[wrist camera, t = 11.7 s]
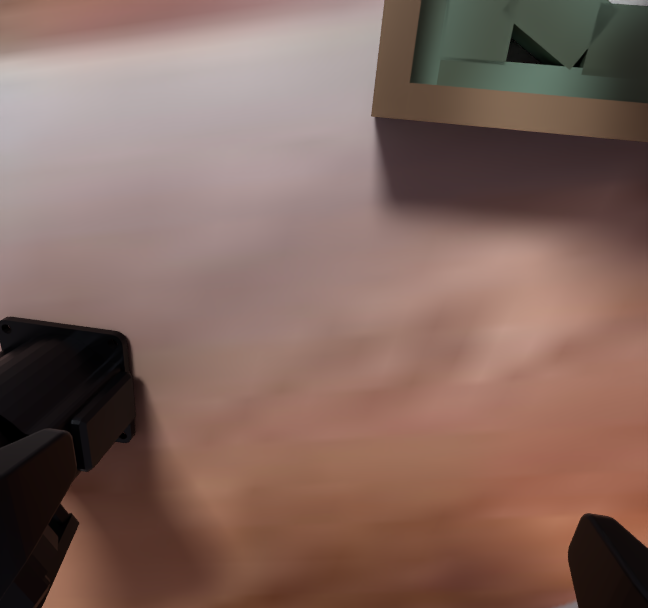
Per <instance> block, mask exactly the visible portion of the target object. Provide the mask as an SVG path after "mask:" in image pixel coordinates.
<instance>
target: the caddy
mask: <svg viewBox="0 0 648 608" xmlns="http://www.w3.org/2000/svg"><path fill="white" fill-rule="evenodd" d="M511 38H512V39H514V40H515V41H516V42H517V43H518V44H520V45H521V46H522V47H523V48H524V49H525V50H527V51H528V52H529V53H530V54H531V55H533V56H534V57H535V58H536V59H537V60H539V61H540V62H541V63H542V64H543V65H540V64H528V63H516V62H506V58H507V54H508V49H509V44H510V39H511ZM371 116H372V117H383V118H394V119H404V120H415V121H426V122H437V123H447V124H458V125H469V126H479V127H490V128H501V129H512V130H522V131H533V132H544V133H554V134H565V135H576V136H587V137H597V138H608V139H619V140H630V141H640V142H648V6H638V5H624V4H612V3H610V2H609V1H608V0H385V1H384V10H383V19H382V27H381V36H380V45H379V53H378V62H377V71H376V79H375V88H374V96H373V105H372V114H371Z"/></svg>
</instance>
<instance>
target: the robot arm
mask: <svg viewBox="0 0 648 608" xmlns="http://www.w3.org/2000/svg"><path fill="white" fill-rule="evenodd" d="M8 326H9V327H10V328H11V329H10V328H9V327H8ZM112 339H113V340H115V341H116V342H117V344H118V345H117V344H115V343H114V342H113V341H112ZM0 344H1V348H2V351H1V352H0V608H41V607H42V606H43V604H44V602H45V600H46V597H47V595H48V593H49V591H50V588H51V586H52V584H53V582H54V579H55V577H56V575H57V573H58V570H59V568H60V566H61V564H62V561H63V559H64V557H65V555H66V552H67V550H68V548H69V546H70V543H71V541H72V539H73V536H74V534H75V532H76V530H77V527H78V525H79V522H78V521H77V519H76V518H75V517H74V516H73V514H72V513H70V514H69V513H68V512H67V511H66V510H65V509H64V507H63V506H62V505H61V504H60V503H61V501H62V499H63V498H64V496H65V494H66V492H67V491H68V489H69V487H70V485H71V483H72V482H73V480H74V479H75V478H76V477H77V476H78V474H79V473H80V472H81V471H85V472H89V471H90V470H91V469H92V468H94V467H95V465H96V464H97V463H98V462H99V461H100V459H101V458H102V457H103V456H104V455H105V453H106V452H107V451H108V450H109V448H110V447H111V446H112V445H113V444H114V442H121V443H127V442H129V441H130V440H131V439H132V438H133V436H134V435H135V425H134V418H135V416H136V412H135V401H134V390H133V379H132V376H131V374H130V371H129V360H128V349H127V341H126V338H125V336H124V335H123V334H122V333H120V332H118V331H112V330H105V329H98V328H90V327H83V326H76V325H68V324H61V323H54V322H46V321H39V320H32V319H24V318H17V317H6V318H4V319H2V320H1V321H0ZM123 432H125V433H126V434H124V433H123ZM568 562H569V567H570V572H571V576H572V581H573V585H574V590H575V594H576V599H577V603H578V608H648V548H647V547H646V546H645V545H643V544H642V543H641V542H640V541H639V540H638V539H637V538H635V537H634V536H633V535H632V534H631V533H630V532H629V531H627V530H626V529H625V528H624V527H623V526H622V525H621V524H619V523H618V522H617V521H616V520H615V519H613V518H611V517H608V516H603V515H597V514H591V513H587V514H584V515H583V516H582V517H581V519H580V521H579V524H578V526H577V528H576V531H575V533H574V536H573V538H572V541H571V543H570V546H569V550H568Z"/></svg>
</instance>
